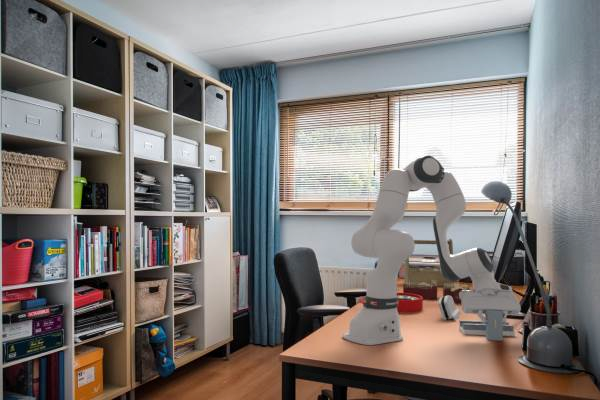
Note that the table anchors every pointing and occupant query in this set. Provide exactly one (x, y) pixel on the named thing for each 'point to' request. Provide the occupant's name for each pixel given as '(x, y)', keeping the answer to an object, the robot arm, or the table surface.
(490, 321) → the door panel
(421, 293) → the toy houses
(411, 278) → the caddy
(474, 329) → the track base
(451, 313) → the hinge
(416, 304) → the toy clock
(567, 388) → the table surface
